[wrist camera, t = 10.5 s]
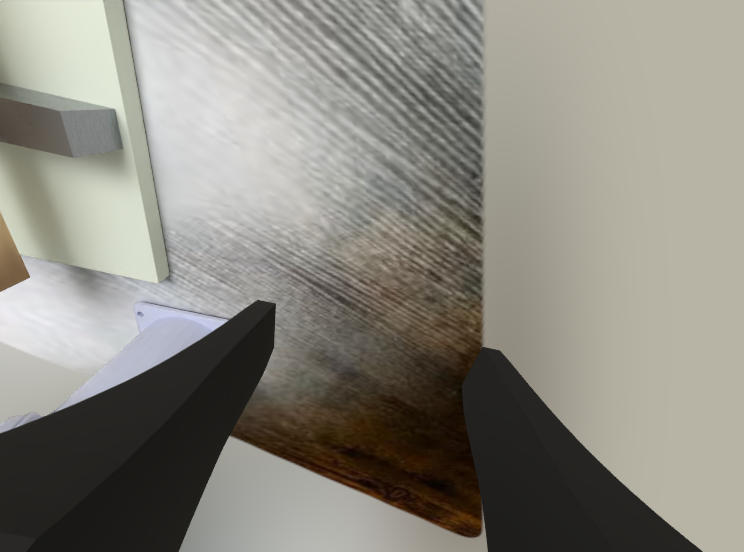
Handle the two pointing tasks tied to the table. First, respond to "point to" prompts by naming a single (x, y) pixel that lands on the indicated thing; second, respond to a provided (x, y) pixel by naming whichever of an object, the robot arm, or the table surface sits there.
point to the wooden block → (10, 260)
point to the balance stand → (76, 140)
